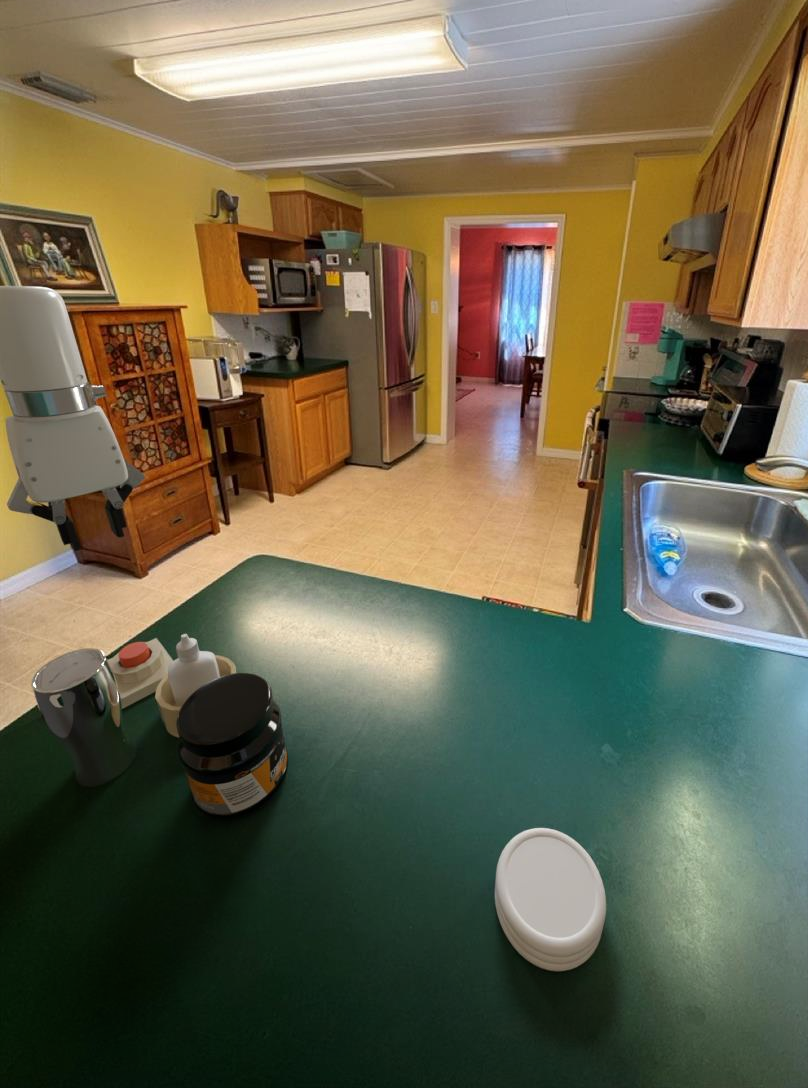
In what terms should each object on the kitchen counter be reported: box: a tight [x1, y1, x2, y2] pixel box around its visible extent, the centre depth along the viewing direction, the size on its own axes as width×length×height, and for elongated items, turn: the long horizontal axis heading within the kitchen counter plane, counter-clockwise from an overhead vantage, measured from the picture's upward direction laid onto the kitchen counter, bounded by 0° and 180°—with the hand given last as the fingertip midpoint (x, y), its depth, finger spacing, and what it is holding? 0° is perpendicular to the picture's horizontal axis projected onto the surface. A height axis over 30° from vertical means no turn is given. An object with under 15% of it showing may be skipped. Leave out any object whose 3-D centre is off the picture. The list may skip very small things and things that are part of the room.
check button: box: [118, 641, 150, 668], centre depth 69 cm, size 4×4×2 cm
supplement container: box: [176, 672, 289, 821], centre depth 53 cm, size 10×10×12 cm
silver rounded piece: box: [30, 647, 137, 788], centre depth 55 cm, size 7×7×15 cm
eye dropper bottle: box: [168, 633, 220, 706], centre depth 63 cm, size 4×6×12 cm
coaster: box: [494, 827, 607, 972], centre depth 44 cm, size 10×10×4 cm
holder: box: [154, 654, 238, 738], centre depth 64 cm, size 10×10×5 cm
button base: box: [107, 637, 174, 710], centre depth 70 cm, size 10×8×4 cm
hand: (97, 539), depth 61 cm, fingers open, 4 cm apart
